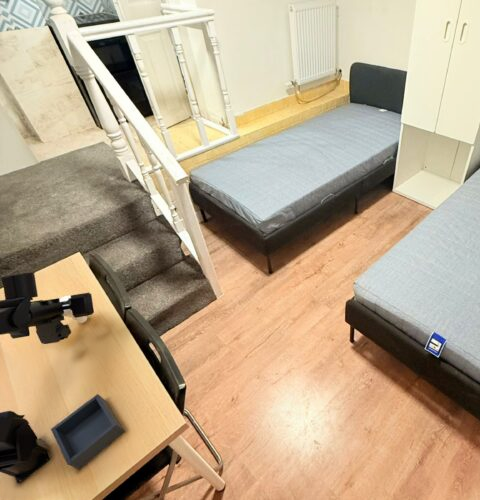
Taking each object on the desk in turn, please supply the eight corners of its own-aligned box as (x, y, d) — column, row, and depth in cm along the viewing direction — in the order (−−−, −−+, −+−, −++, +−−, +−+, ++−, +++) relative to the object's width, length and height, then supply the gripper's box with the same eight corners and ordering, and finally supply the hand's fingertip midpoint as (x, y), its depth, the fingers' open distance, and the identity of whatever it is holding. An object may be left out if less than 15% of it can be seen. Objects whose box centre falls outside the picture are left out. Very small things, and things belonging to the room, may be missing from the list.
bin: (79, 470, 74) (67, 464, 71) (62, 435, 79) (50, 429, 76) (125, 431, 79) (116, 424, 76) (106, 401, 85) (97, 393, 81)
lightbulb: (98, 318, 103) (79, 296, 95) (79, 333, 99) (57, 311, 92) (88, 309, 105) (68, 287, 98) (69, 323, 102) (47, 302, 94)
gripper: (-2, 352, 82) (43, 337, 98) (78, 339, 84) (110, 326, 100) (-9, 308, 82) (38, 299, 98) (72, 295, 84) (105, 289, 100)
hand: (73, 304), depth 99 cm, fingers closed on lightbulb, 6 cm apart
